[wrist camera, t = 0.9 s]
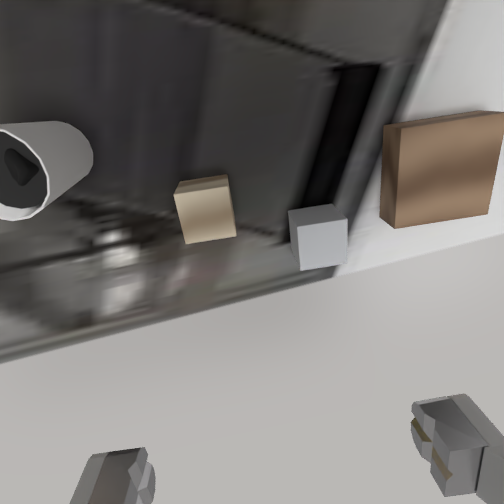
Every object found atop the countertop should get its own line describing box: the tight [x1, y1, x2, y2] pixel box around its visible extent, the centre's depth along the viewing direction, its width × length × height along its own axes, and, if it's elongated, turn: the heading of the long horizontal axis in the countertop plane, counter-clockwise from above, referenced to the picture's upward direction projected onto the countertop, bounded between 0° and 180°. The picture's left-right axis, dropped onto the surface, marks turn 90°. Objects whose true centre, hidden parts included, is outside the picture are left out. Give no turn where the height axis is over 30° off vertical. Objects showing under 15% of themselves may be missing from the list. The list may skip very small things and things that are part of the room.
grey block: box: [288, 204, 347, 271], centre depth 35 cm, size 5×5×5 cm
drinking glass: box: [0, 121, 93, 221], centre depth 27 cm, size 7×7×10 cm
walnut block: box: [380, 111, 504, 229], centre depth 34 cm, size 10×10×4 cm
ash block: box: [174, 174, 236, 244], centre depth 33 cm, size 5×5×5 cm
